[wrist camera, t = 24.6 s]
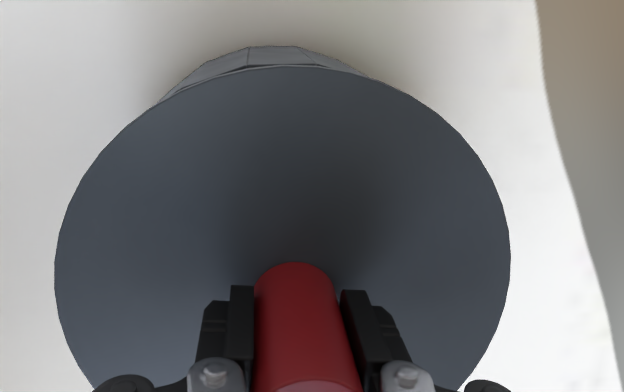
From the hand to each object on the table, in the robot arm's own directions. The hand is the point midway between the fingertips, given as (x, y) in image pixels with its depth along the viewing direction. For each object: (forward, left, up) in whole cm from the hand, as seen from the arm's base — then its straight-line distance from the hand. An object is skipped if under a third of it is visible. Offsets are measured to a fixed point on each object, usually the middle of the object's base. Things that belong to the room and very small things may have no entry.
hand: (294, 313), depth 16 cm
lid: (0, 0, -1) cm, 1 cm away
